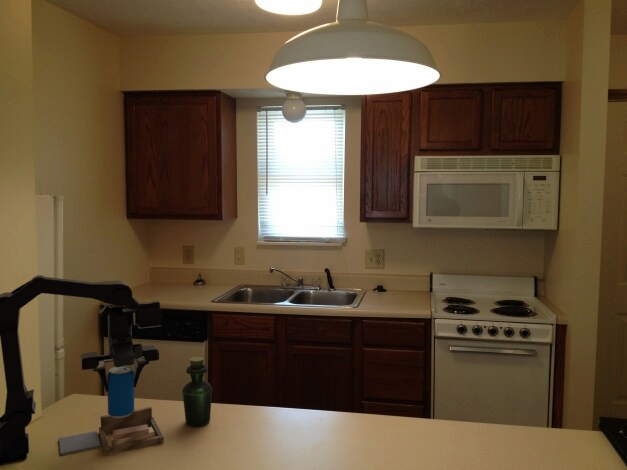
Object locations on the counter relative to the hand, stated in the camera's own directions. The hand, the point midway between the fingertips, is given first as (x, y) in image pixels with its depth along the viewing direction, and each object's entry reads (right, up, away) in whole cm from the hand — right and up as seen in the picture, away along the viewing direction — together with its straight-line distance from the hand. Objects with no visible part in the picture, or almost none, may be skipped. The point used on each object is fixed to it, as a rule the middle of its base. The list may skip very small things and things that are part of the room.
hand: (120, 389), depth 135 cm
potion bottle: (+18, -12, +9) cm, 24 cm away
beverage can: (0, -7, 0) cm, 7 cm away
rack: (+3, -13, 0) cm, 13 cm away
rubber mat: (-9, -13, -3) cm, 16 cm away
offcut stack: (+4, -13, -3) cm, 14 cm away
